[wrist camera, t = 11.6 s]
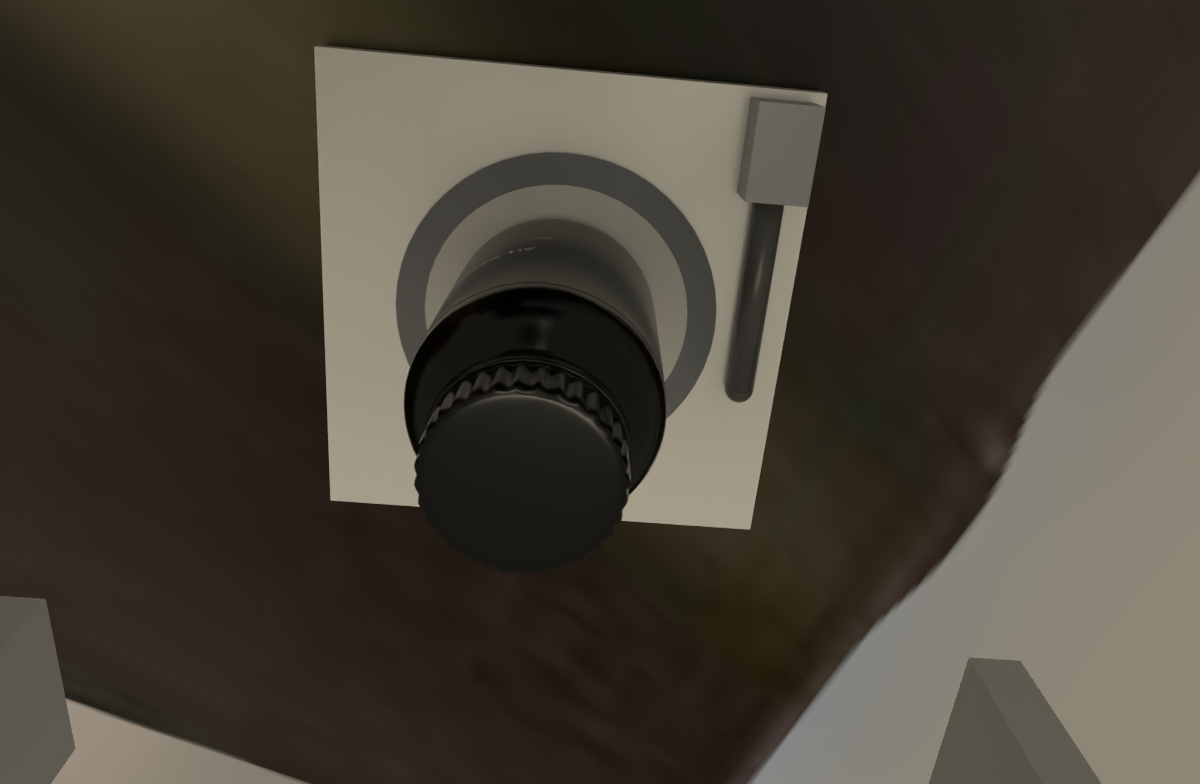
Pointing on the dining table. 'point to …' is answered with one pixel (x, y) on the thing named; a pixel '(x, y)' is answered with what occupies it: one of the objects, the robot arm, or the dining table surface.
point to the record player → (571, 192)
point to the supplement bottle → (537, 398)
